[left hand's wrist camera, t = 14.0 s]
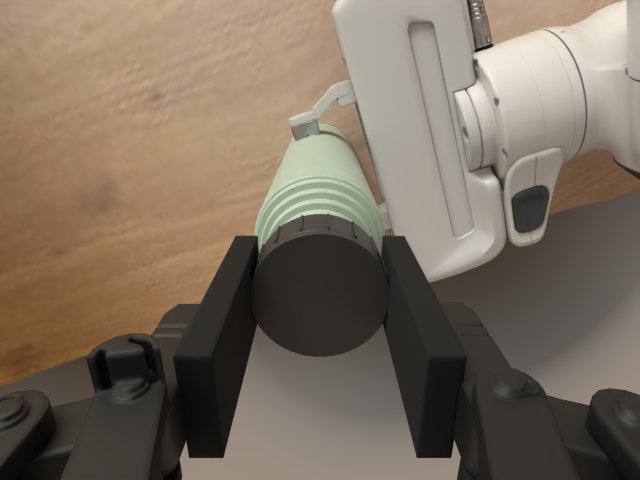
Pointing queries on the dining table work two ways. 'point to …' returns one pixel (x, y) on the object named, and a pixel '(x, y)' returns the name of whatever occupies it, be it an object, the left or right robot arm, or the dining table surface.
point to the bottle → (320, 186)
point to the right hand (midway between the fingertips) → (308, 177)
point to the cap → (320, 286)
